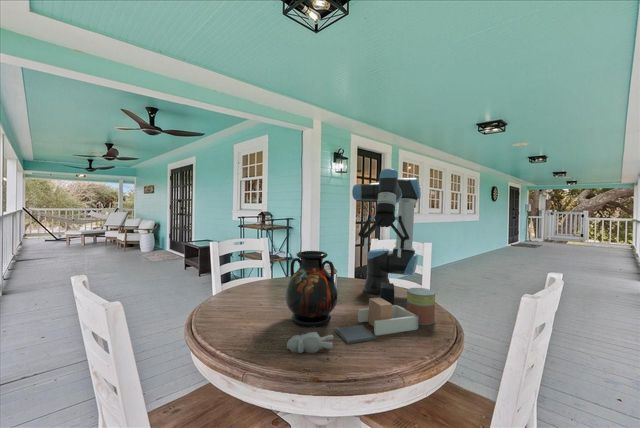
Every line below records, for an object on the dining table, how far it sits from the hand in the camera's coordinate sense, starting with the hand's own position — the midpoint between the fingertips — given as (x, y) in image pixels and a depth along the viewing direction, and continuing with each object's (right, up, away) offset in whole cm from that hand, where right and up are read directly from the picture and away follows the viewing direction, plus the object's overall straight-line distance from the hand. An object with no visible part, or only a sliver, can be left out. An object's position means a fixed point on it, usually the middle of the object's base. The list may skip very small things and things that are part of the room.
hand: (381, 255), depth 120 cm
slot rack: (+2, -28, +1) cm, 28 cm away
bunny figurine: (-28, -28, -20) cm, 44 cm away
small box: (+7, -28, +23) cm, 36 cm away
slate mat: (-11, -28, -9) cm, 31 cm away
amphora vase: (-28, -28, +5) cm, 40 cm away
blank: (-1, -28, 0) cm, 28 cm away
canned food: (+18, -28, +7) cm, 34 cm away
